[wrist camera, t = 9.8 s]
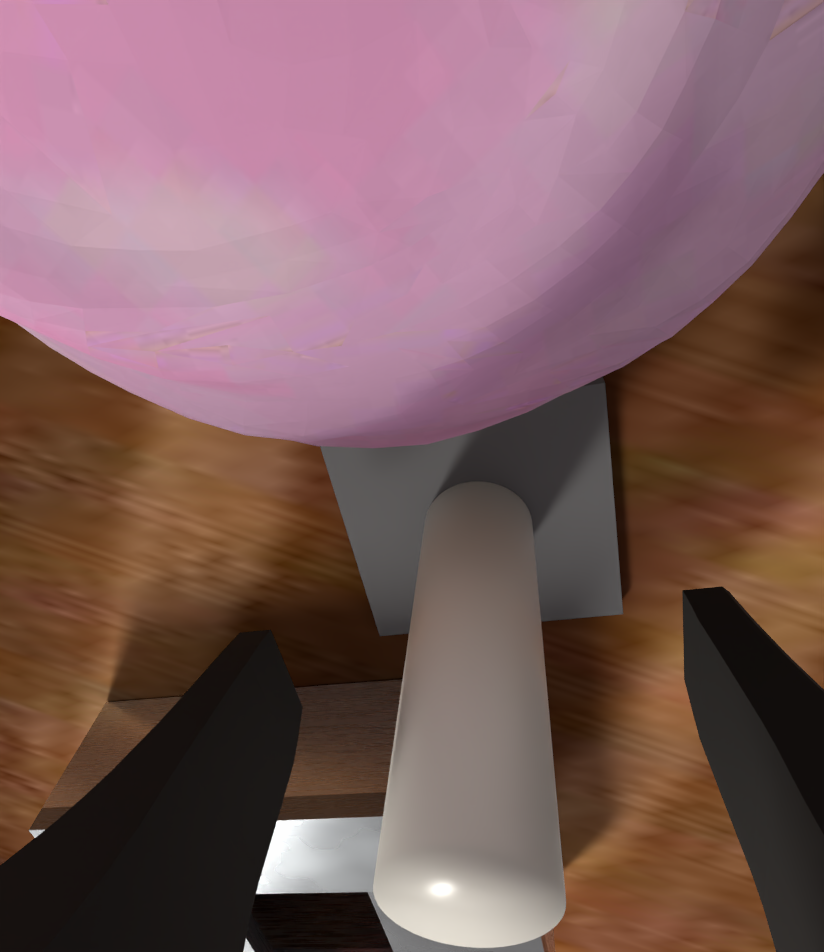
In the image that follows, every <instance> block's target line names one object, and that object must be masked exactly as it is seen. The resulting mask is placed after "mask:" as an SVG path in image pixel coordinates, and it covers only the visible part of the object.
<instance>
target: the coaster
mask: <svg viewBox="0 0 824 952" xmlns="http://www.w3.org/2000/svg"><path fill="white" fill-rule="evenodd" d="M320 447H321V450H322V454H323V457H324V460H325V463H326V466H327V470H328V473H329V476H330V479H331V482H332V486H333V489H334V492H335V495H336V498H337V501H338V505H339V508H340V511H341V514H342V517H343V521H344V524H345V527H346V530H347V533H348V537H349V540H350V543H351V546H352V549H353V552H354V556H355V559H356V562H357V565H358V568H359V572H360V575H361V578H362V581H363V584H364V588H365V591H366V594H367V597H368V600H369V603H370V607H371V610H372V613H373V616H374V619H375V623H376V626H377V629H378V632H379V635H380V636H387V635H398V634H409V630H410V623H411V616H412V609H413V602H414V595H415V588H416V581H417V574H418V567H419V560H420V553H421V546H422V539H423V532H424V525H425V519H426V514H427V511H428V509H429V507H430V505H431V503H432V502H433V501H434V500H435V498H436V497H438V496H439V495H440V494H441V493H442V492H444V491H445V490H447V489H449V488H450V487H453V486H455V485H458V484H461V483H466V482H475V481H481V482H489V483H494V484H497V485H500V486H503V487H505V488H507V489H509V490H511V491H512V492H514V493H515V494H516V495H518V496H519V497H520V498H521V499H522V500H523V502H524V503H525V504H526V506H527V508H528V510H529V512H530V515H531V518H532V525H533V537H534V548H535V559H536V570H537V582H538V593H539V604H540V615H541V621H552V620H564V619H575V618H586V617H597V616H608V615H619V614H623V606H622V594H621V581H620V568H619V555H618V542H617V529H616V516H615V504H614V491H613V478H612V465H611V452H610V439H609V427H608V414H607V401H606V388H605V381H604V379H603V376H602V377H600V378H598V379H596V380H594V381H592V382H590V383H588V384H586V385H584V386H581V387H579V388H577V389H575V390H573V391H571V392H568V393H565V394H563V395H561V396H559V397H557V398H555V399H553V400H551V401H549V402H547V403H545V404H543V405H541V406H539V407H537V408H535V409H533V410H531V411H529V412H527V413H524V414H521V415H519V416H516V417H513V418H511V419H508V420H505V421H503V422H500V423H497V424H494V425H492V426H489V427H486V428H484V429H481V430H478V431H475V432H471V433H467V434H464V435H460V436H456V437H452V438H449V439H445V440H441V441H438V442H434V443H430V444H425V445H411V446H398V447H384V448H354V447H330V446H320Z"/></svg>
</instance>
